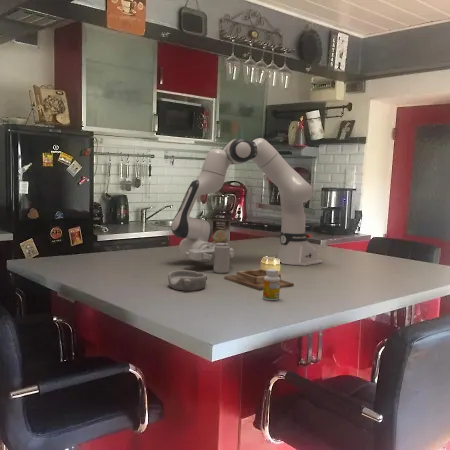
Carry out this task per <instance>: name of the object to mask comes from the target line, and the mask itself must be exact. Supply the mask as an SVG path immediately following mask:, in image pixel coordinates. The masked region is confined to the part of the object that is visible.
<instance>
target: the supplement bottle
mask: <svg viewBox="0 0 450 450" xmlns="http://www.w3.org/2000/svg"><path fill="white" fill-rule="evenodd" d="M265 270H266V274H267V275H266V276H265V277H264V284H263V290H262V298H263V300H266V301H270V300H275V301H279V300H280V290H281V288H280V277H278V276H277V275H278V274H279V269H276V268H267V269H265Z"/></svg>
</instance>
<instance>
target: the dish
mask: <svg viewBox="0 0 450 450" xmlns="http://www.w3.org/2000/svg"><path fill="white" fill-rule="evenodd" d="M167 278H168V281H167V282H168V286H169V287H170V288H172V289H173V288H174V290H178V291H184V292H185V291H187V292H189V291H190V292H191V291H192V292H193V291H200V290H202V289H205V287H206V284H207V280H208V276H207V274H205V273H204V272H202V271H201V272H198V271H196V270H185V269H184V270H183V269H181V270H179V269H178V270H173V271H170V272H169V273H168V274H167Z"/></svg>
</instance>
